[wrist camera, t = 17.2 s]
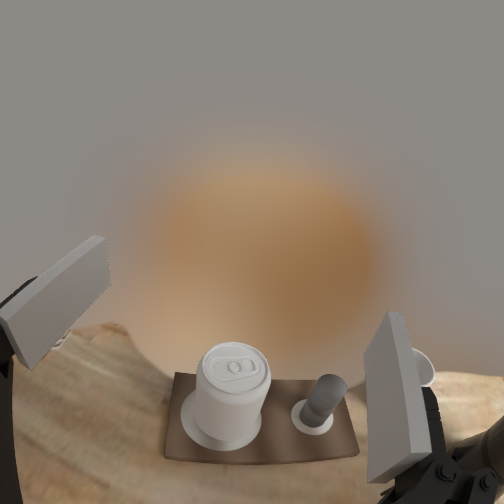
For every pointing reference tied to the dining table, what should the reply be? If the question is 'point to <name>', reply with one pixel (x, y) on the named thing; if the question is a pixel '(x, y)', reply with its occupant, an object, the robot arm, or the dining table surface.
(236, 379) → the beverage can
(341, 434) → the board
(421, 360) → the dixie cup
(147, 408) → the dining table surface
